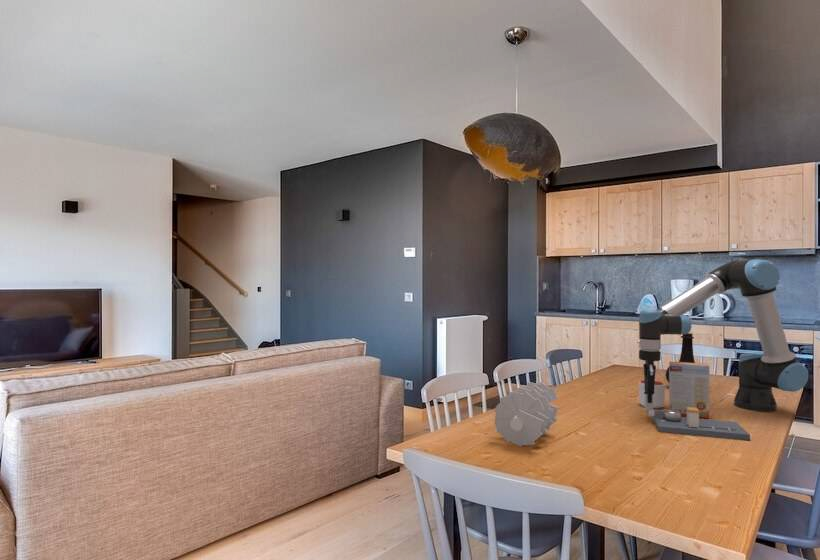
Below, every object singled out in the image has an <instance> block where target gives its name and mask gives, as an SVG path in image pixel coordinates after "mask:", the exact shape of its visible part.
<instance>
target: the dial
mask: <svg viewBox="0 0 820 560" xmlns="http://www.w3.org/2000/svg"><path fill="white" fill-rule="evenodd" d="M647 415H648V417H652V416H659V417H663V419H665V420H668V421H675V422H678V421H681V417H682V416H681V412H680V411H678V410H673V409H669V408H665V409H662V410H660V409H653V410H652V409H648V411H647Z"/></svg>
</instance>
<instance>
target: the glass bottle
mask: <svg viewBox="0 0 820 560" xmlns="http://www.w3.org/2000/svg"><path fill="white" fill-rule="evenodd" d="M680 338H681V339H682V343H681V352H680V356H679V359H678V362H687V363H696V362H695V358H694V357H695V356H694V345H693V344H694V343H693V339H695V337H694V336H693V333H691V332H689V333H688V334H682V335H680ZM665 378H666V381H667V383H668V384H669V366H668V367H667V369H666V371H665Z"/></svg>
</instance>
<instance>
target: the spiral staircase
mask: <svg viewBox="0 0 820 560" xmlns="http://www.w3.org/2000/svg"><path fill="white" fill-rule="evenodd" d="M558 399H559V396H558V394H557V392H556V390H555V388H554V387H551V388H550V387H549V386H548V385H546V384H545V383H544V382H542V381H540V382H539V383H535V382H531V381H527V384H526V385H520V387H517V389H516V390H513V391H510V392H509V391H508V392H507V395H505V396H502V397H499V401H500V402H498V404H497V405H496V406H495V408H494V409H493V411H494V413H495V414H494V415H495V416H494V425H495V427H496V432H497V433H499V434H500V435H501V437H502V438H503V439H504V440H505V441H506V443H511V444H514V445H516V446H518V447H520V448H522V447H523V446H534V445H535V441H538V440H539V438H540V437H541V436H542V435H546V434H548V431H550V430H551V426H552V425H553V424H555V423H556V422H557V421H558V418H557V417H556V416H557V414H558V410H559V407H558V406H556V405H553V404H551V402H554V401H555V400H558Z"/></svg>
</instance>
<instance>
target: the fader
mask: <svg viewBox="0 0 820 560" xmlns="http://www.w3.org/2000/svg"><path fill="white" fill-rule="evenodd" d="M686 418H687V425H688V426H689V427H698V428H699V419H700V417H699V410H698V409H697V408H693V407H687V416H686Z"/></svg>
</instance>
